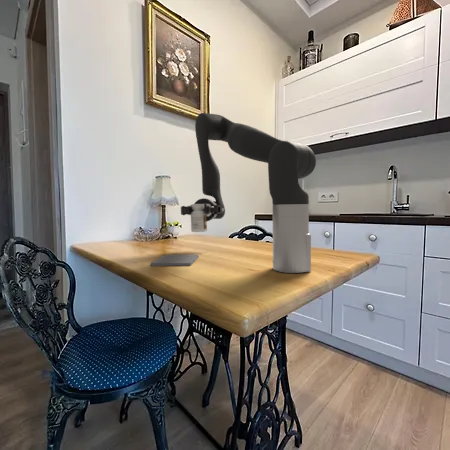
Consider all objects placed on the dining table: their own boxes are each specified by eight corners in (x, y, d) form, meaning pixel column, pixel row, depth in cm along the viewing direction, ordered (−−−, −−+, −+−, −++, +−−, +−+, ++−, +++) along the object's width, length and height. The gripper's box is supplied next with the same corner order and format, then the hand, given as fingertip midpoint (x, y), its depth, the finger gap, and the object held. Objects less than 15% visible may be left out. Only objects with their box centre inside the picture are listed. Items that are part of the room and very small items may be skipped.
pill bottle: (208, 231, 71) (207, 203, 71) (192, 232, 70) (191, 204, 69) (204, 230, 75) (204, 204, 75) (190, 231, 74) (189, 204, 74)
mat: (198, 256, 89) (198, 254, 89) (190, 265, 76) (190, 263, 75) (164, 257, 90) (164, 254, 90) (150, 265, 76) (150, 263, 76)
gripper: (184, 199, 87) (170, 197, 70) (226, 198, 86) (222, 195, 69) (185, 221, 87) (171, 224, 70) (227, 220, 86) (223, 223, 69)
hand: (196, 210), depth 70 cm, fingers closed on pill bottle, 4 cm apart
